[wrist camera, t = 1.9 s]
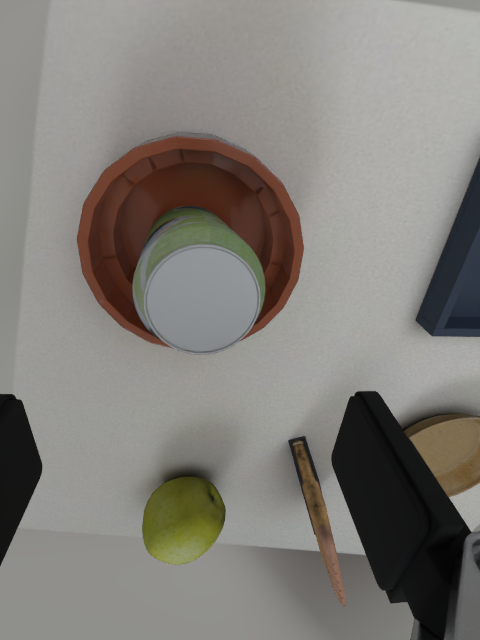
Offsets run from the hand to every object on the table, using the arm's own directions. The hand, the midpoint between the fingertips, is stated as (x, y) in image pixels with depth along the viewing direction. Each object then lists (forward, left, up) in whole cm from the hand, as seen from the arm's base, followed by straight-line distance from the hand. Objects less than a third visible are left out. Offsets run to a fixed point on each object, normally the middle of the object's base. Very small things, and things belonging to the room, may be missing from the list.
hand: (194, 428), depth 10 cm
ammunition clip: (+27, +13, -18) cm, 35 cm away
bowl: (0, 0, -18) cm, 18 cm away
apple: (+29, -1, -18) cm, 34 cm away
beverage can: (0, 0, -17) cm, 17 cm away
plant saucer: (+24, +28, -18) cm, 41 cm away
